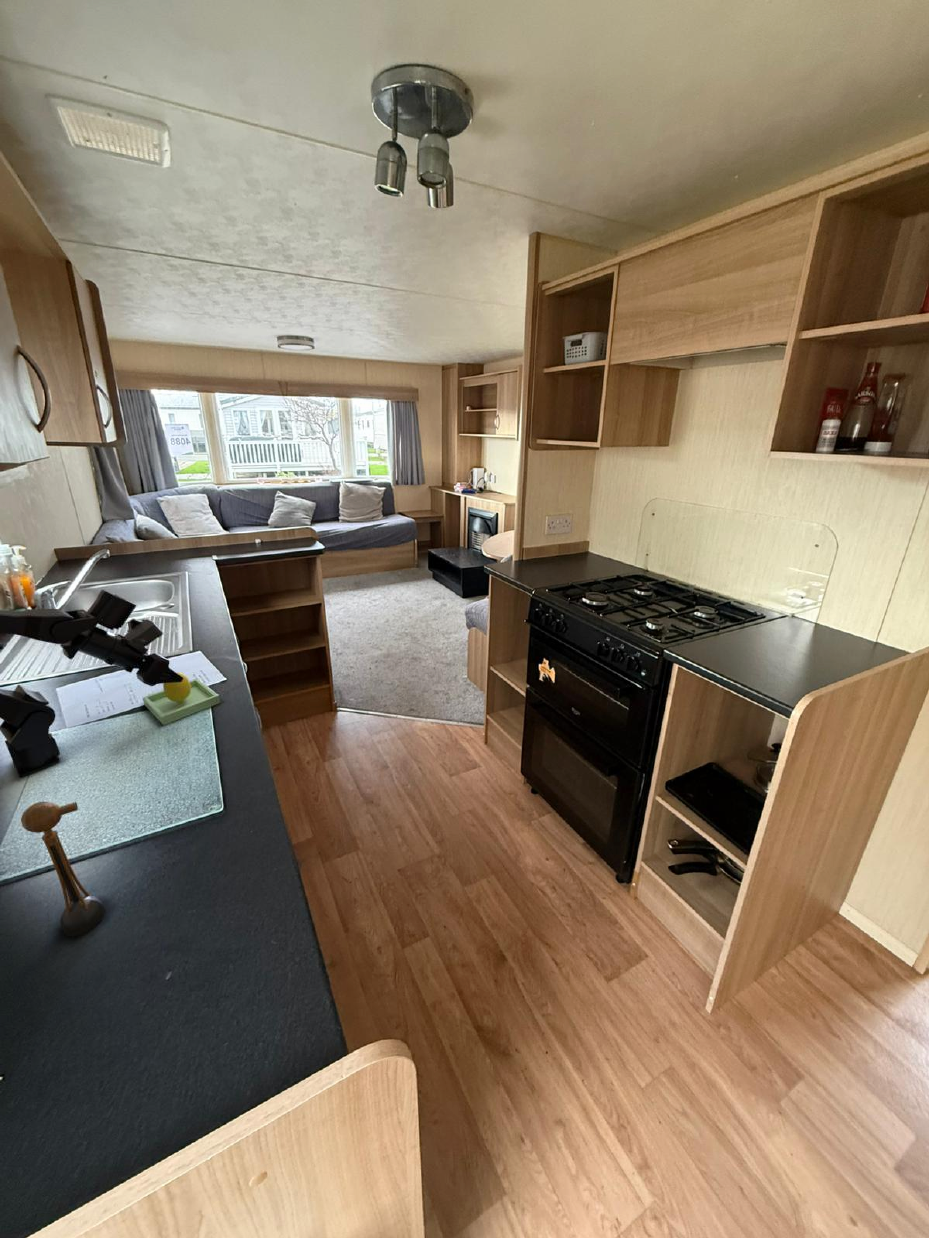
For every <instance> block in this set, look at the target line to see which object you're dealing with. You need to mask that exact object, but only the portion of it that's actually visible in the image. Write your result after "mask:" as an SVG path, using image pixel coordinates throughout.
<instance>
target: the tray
mask: <svg viewBox="0 0 929 1238" xmlns="http://www.w3.org/2000/svg"><path fill="white" fill-rule="evenodd" d="M189 682H190V685H191V692H190V694H189V696H188V697H187V698H186V699H185V700H183V701H182V702H181V703H180V702H175V701H171V700H169V699H168V698H167V697H166V695H165V693H164V689H163V690H160V691H156V692H154V693H151V694H148V695H145V696H143V697H142V702H143V705H144V707H146V708H147V710H149V711H150V713H151V714H152V715H153V716H154V717H155V718H156V719H157V720H158V721H159V722H160V723H161V724H162V725H163V726H165V725H168V724H170V723H173V722H175V721H178V720H180V719H183V718H185V717H188V716H190V715H194V714H196V713H198V712H201V711H203V710H206V709H208V708H211V707H214V706H215V705H219V704H221V701H220V696H219V694H218V693H216V692H215V691H214V690H212V689H211V688H210V687H209V686H208V685H206V684H205V683H204V682H202V680H200V679H199V678H195V679H192V680H189Z"/></svg>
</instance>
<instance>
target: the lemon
mask: <svg viewBox="0 0 929 1238" xmlns="http://www.w3.org/2000/svg"><path fill="white" fill-rule="evenodd" d="M176 673H177V674H179V675H180V676H182V677H183V680H182V682H176V683H162V687H163V690H164V693H165V695H166V697H167V698H168V699H169V700H171V701H175V702H180V703H181V702H182V701H183V700H185V699H186V698H187V697H188V696H189V694H190V692H191V685H190V682H189V681H190V680H189V678H188V677H187V676H186V675H185V674H183V673H181V672H176Z"/></svg>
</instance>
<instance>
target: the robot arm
mask: <svg viewBox="0 0 929 1238" xmlns="http://www.w3.org/2000/svg"><path fill="white" fill-rule="evenodd" d="M137 606H138V605H137V604H135V603H133V602H131V601H129V600H127V599H125V598H123V597H121V596H120V595H117V594H113V593H112V592H109V591H107V590H105V589H101V590H100V591H99V593H98V595H97V596H96V598H95V600H94V602H93V603H92V604H91V605H90V607H89V608H88V610H85V609H82V608H81V609H73V610H65V611H64V610H62V609H59V608H34V609H33V608H32V609H26V610H15V611H14V610H13V611H12V610H2V609H0V634H1V635H2V634H3V635H16V636H20V637H23V638H24V637H25V638H28V639H32V640H34V641H39V642H44V643H49V644H54V645H59V647H60V648H61V649H62V653H63V655H64V656H65V657H66V658H68V660H73V659H74V657H75V656H76V655H77V653H78V652H79V653H82V654H84V655H86V656H90V657H92V658H95V659H97V660H100V661H103V663H106V665H108V666H115V667H118V668H120V669H122V670H124V671H125V672H127V673H130V674H131V673H132V672H133V670H137V671H136V672H135V674H136V678H137V680H139V681H140V683H143V684H145V685H147V686H150V687H154V686H156V685H160V684H161V685H163V684H164V683H176V682H182V680H183V677H182V676H180V675H179V674H177V673H178V672H176V671H175V670H173V669H171V668H170V660H169V659H167V658H166V657H165V656H163V655H161V654H158V653H155V652H153V653H150V654H148V653H147V652H148V651H149V647H147V646H149V645H150V644H151V643H153V642H154V641H156V639H159V638H161V637H162V636H163V635H164V632H163V631H162V630H161V629H160V628H159V626H157V624H156V623H155V622H153V621H152V620H150V619H144V618H142V619H141V620H139V619H136V618H131V619H130V620H129V621H127V620H128V619H129V618H130V616H131V615H132V613H133V612H134V611H135V609H136V608H137ZM126 622H127V626H128V630H127V633H126V634H125V635H123V634H120V633H117V634H116V633H112V632H109V631H114V629H115V630H119V629H122V627H123V626H124V625H125V623H126ZM97 625H99V626H101V627H102V628H100V627H98V626H97ZM103 627H104V628H106V629H108V630H109V631H107V630H105V629H103ZM56 715H57V714H56V711H55V710H54V709H53V707H51V705H50V701H49V700H48V699H46V698H45V696H44V695H43V694H42V693H41V692H40V691H34V690H30V689H28V688H26V687H24V686H23V685H21V684H17V686H16V687H15V688H14V690H10V689H2V688H0V719H1V720H3V721H2V722H1V724H0V732H1V734H2V735H3V737H4V738H5V739H6V740H4V743H5V745H6V748H7V750H8V753H9V755H10V757H11V760H12V765H13V767H14V769H15V772H16V774H17V777H18V778H23V777H25V776H28V775H30V774H33V773H35V772H39V771H41V770H43V769H46V768H49V767H51V766H54V765H56V764H59V763H61V759H60V755H61V752H60V749H59V746H58V744H57V741H56V738H55V736H54V734H53V733H51V732H50V727H51V726H52V725H53V724H54V723H55V720H56Z"/></svg>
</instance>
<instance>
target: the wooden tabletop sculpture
mask: <svg viewBox="0 0 929 1238" xmlns="http://www.w3.org/2000/svg"><path fill="white" fill-rule="evenodd" d="M78 810H79V807H78V802H77V801H74V802H71V803H68V804H65V805H62V806H59V804H57V803H55V802H53V801H38V802H35V803H33V804H31V805H30V806H29V807H28V808H26V809H25V810H24V811H23V812H22V815H21V817H20V823H21V826H22V828H23V829H24V830H26V831H27V832H31V833H35V834H40V833H43V834H42V836H41V841H43V842H44V845H45V848H46V850H47V852H48V855H49V857H50V859H51V862H52V864H53V866H54V870H55V872H56V874H57V877H58V880H59V883H60V887H61V890H62V894H63V899H64V904H65V908H64V910H63V912H62V914H61V916H60V926H61V929H62V931H63V933H64V935H65V936H68V937H69V936H70V937H77V936H80V935H82V934H85V933H88V932H90V931H91V930H93V929H94V928H95V927H96V926H97V925H98V924H99V923H100V922H102V920H103V919H104V915H105V914H106V912H107V910H106V907H105V905H104V904H103V903H102V901H101V900H100V898H99V897H98V896H96V895H91V894H89V892H87V890H86V889H85V888H84V887H83V885H82V884H81V881H80V880H79V879H78V877H77V875H76V873H75V872H74V870H73V867H72V866H71V863H70V862H69V859H68V856H67V854H66V852H65V849H64V847H63V845H62V842H61V840H60V837H59V833H58V831H57V830H53V828H55V827H56V826H57V825H58V824H59V823H60V821H61V820H62V817H63V816H65V815H68V814H70V813H73V812H77V811H78ZM80 891H81V892H82V893H83V894H84V895H82V894H81V892H80Z"/></svg>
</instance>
